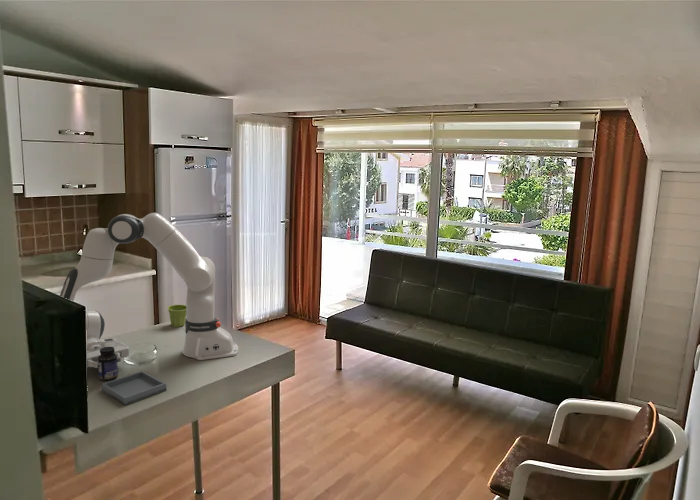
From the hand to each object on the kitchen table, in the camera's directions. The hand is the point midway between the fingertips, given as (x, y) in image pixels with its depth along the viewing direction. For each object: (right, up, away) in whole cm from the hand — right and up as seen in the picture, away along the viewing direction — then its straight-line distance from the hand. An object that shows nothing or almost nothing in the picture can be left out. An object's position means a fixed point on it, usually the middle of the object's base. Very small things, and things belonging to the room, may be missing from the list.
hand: (108, 362), depth 182 cm
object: (+5, +5, +60) cm, 60 cm away
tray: (+12, -8, -7) cm, 16 cm away
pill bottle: (-1, -6, +2) cm, 6 cm away
